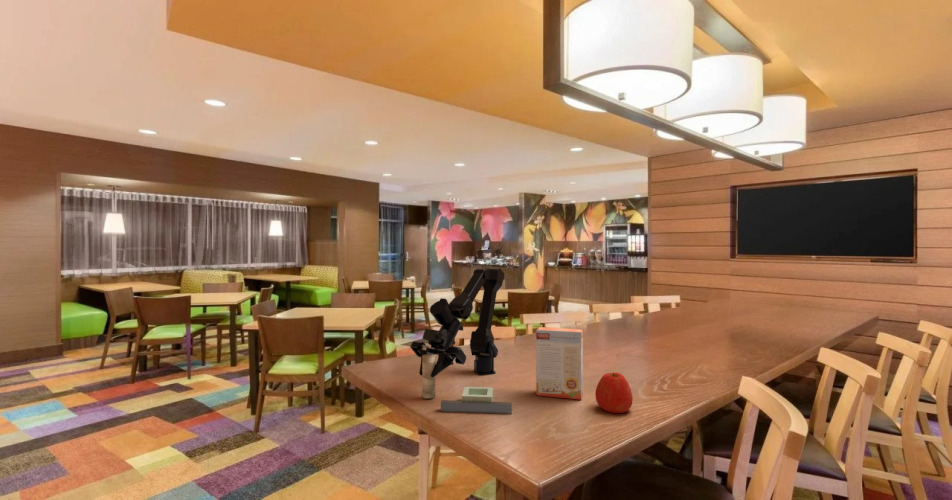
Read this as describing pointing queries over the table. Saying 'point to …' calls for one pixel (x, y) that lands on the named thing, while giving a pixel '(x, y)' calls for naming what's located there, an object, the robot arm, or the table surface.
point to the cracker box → (559, 362)
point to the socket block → (478, 394)
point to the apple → (614, 393)
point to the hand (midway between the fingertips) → (426, 375)
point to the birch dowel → (428, 376)
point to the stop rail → (476, 407)
